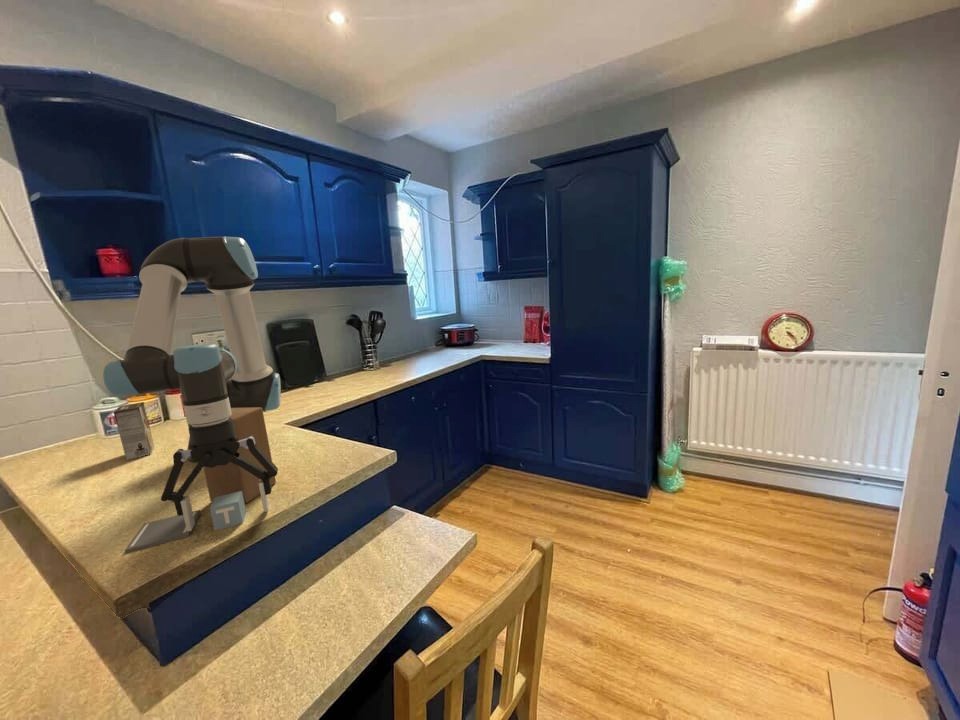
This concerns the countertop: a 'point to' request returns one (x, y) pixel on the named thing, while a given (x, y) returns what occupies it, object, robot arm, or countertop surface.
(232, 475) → the wooden block
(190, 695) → the countertop surface
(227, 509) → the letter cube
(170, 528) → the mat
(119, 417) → the coffee box
